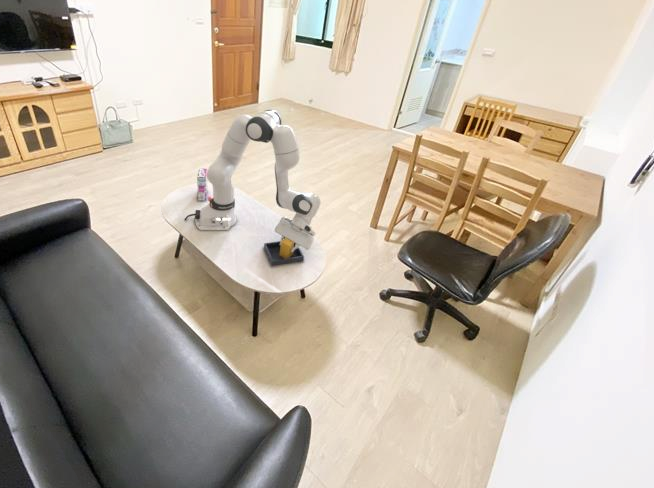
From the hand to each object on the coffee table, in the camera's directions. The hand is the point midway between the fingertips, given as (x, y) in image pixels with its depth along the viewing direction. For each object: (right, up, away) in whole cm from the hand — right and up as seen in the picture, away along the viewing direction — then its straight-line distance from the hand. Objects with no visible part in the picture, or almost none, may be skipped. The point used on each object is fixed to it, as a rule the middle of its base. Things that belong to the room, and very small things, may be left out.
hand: (286, 248), depth 163 cm
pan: (-1, -4, +4) cm, 6 cm away
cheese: (0, -4, +3) cm, 5 cm away
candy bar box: (-49, +27, +41) cm, 70 cm away
